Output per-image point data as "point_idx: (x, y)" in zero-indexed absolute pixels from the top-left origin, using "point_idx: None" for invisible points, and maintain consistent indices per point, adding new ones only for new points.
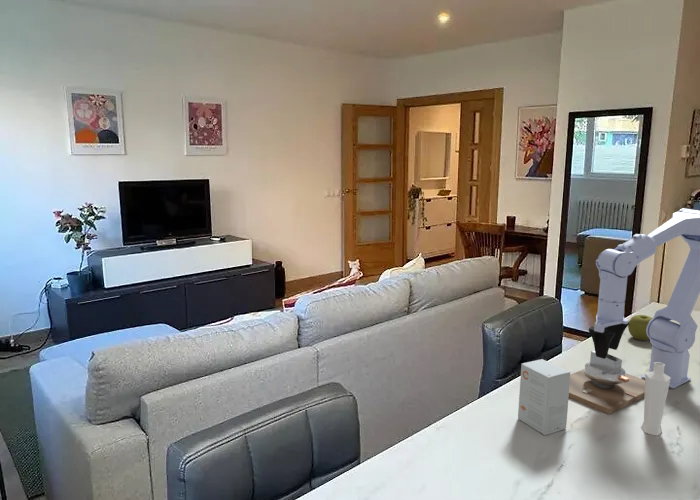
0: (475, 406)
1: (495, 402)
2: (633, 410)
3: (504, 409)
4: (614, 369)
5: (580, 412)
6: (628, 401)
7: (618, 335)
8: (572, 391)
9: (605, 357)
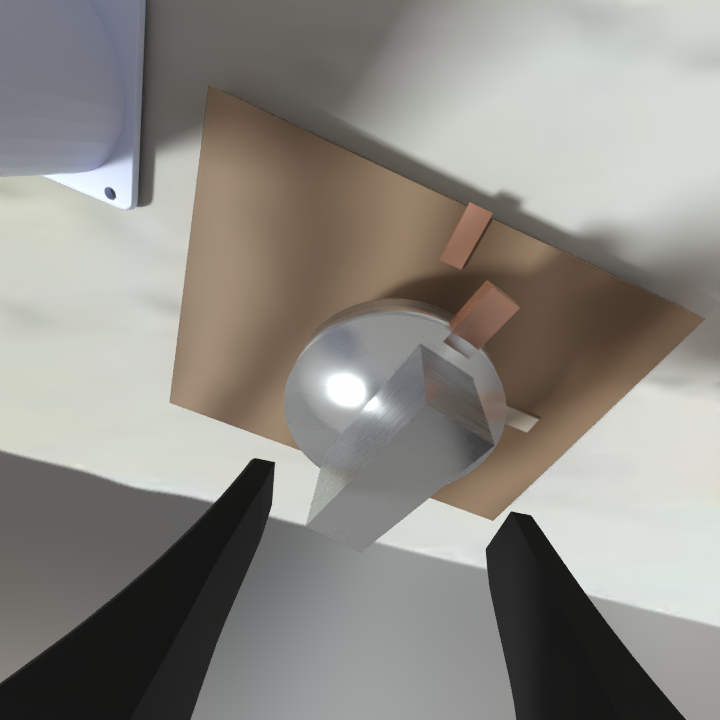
0: (701, 616)
1: (659, 589)
2: (598, 204)
3: (708, 572)
4: (477, 397)
5: (685, 406)
6: (542, 242)
7: (203, 604)
8: (535, 457)
9: (535, 523)
